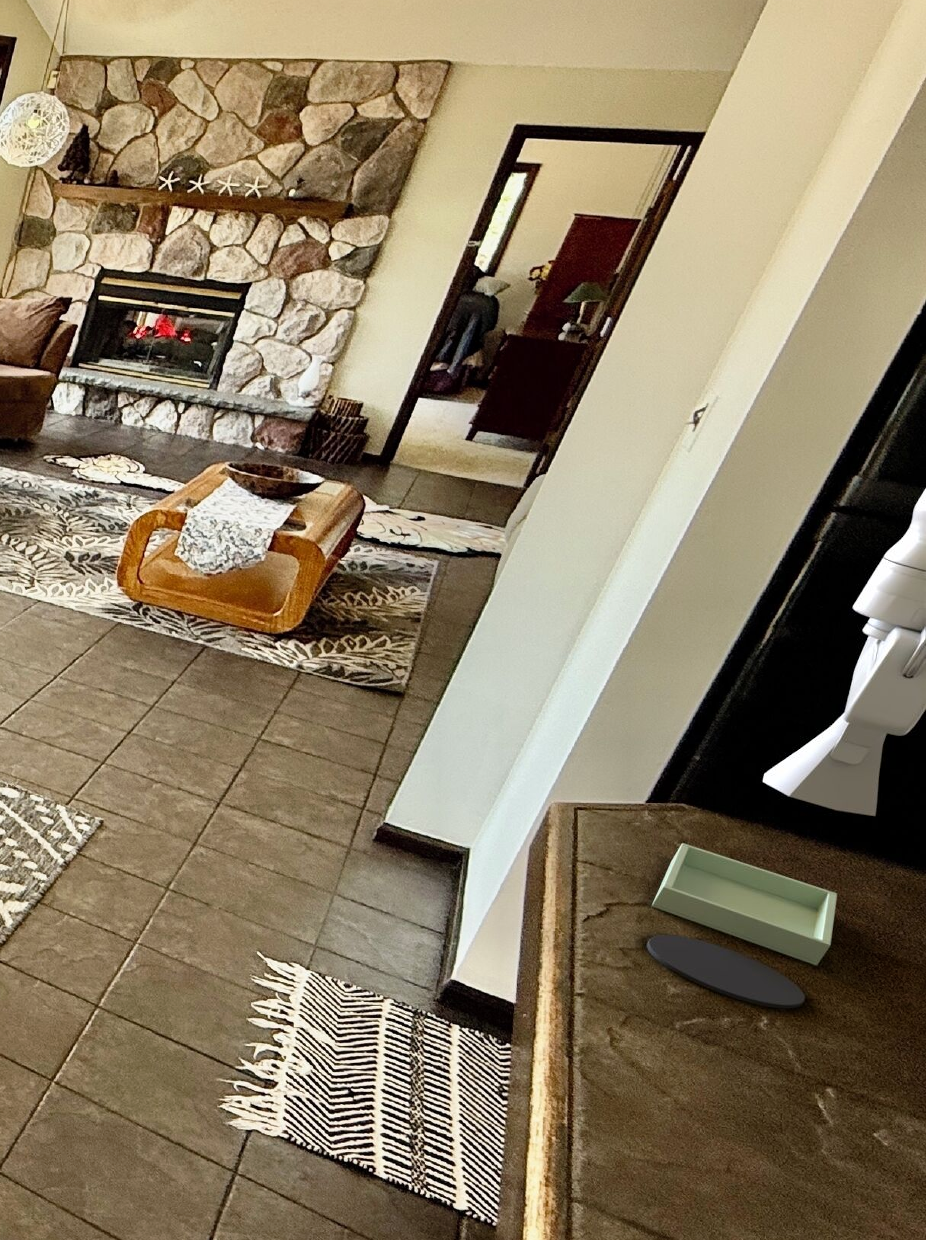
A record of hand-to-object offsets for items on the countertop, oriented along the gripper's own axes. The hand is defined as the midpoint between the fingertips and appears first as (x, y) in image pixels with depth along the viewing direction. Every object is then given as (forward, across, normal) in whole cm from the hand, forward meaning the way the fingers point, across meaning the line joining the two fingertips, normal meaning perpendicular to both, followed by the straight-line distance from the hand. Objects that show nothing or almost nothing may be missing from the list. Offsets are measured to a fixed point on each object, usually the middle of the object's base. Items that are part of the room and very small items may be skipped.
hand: (844, 754), depth 99 cm
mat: (+20, -9, 0) cm, 21 cm away
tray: (+19, +8, 0) cm, 21 cm away
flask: (+4, 0, 0) cm, 4 cm away
